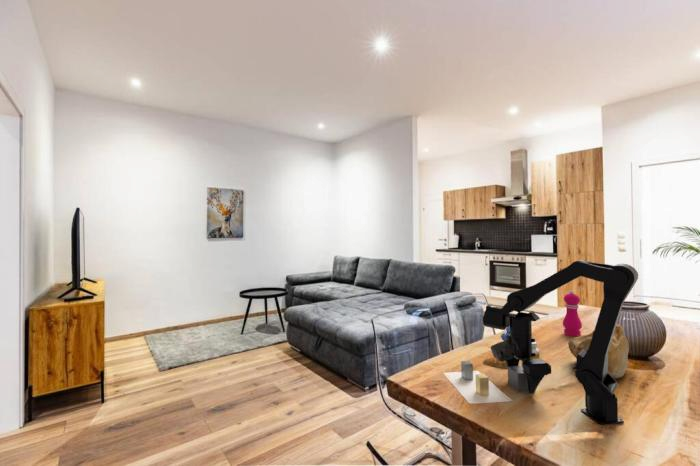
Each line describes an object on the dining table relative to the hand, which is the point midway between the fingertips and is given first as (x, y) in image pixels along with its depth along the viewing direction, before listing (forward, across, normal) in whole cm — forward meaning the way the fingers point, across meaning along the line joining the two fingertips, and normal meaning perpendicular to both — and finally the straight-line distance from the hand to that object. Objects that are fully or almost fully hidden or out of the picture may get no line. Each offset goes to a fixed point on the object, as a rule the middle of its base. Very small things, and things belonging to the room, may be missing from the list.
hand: (521, 385), depth 99 cm
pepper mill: (+2, -48, +54) cm, 72 cm away
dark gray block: (+2, 0, 0) cm, 2 cm away
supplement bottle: (+2, -14, +12) cm, 19 cm away
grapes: (+2, -30, +14) cm, 33 cm away
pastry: (+2, -17, +3) cm, 18 cm away
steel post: (0, -8, -13) cm, 15 cm away
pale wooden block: (0, +2, -13) cm, 13 cm away
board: (+2, -3, -13) cm, 14 cm away
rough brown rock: (+2, -13, +35) cm, 37 cm away
